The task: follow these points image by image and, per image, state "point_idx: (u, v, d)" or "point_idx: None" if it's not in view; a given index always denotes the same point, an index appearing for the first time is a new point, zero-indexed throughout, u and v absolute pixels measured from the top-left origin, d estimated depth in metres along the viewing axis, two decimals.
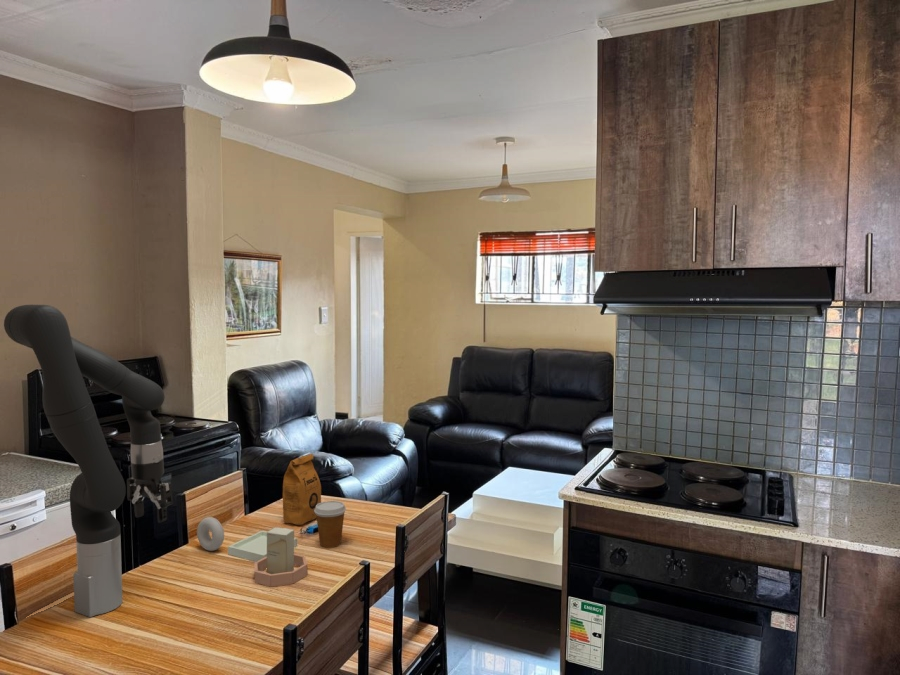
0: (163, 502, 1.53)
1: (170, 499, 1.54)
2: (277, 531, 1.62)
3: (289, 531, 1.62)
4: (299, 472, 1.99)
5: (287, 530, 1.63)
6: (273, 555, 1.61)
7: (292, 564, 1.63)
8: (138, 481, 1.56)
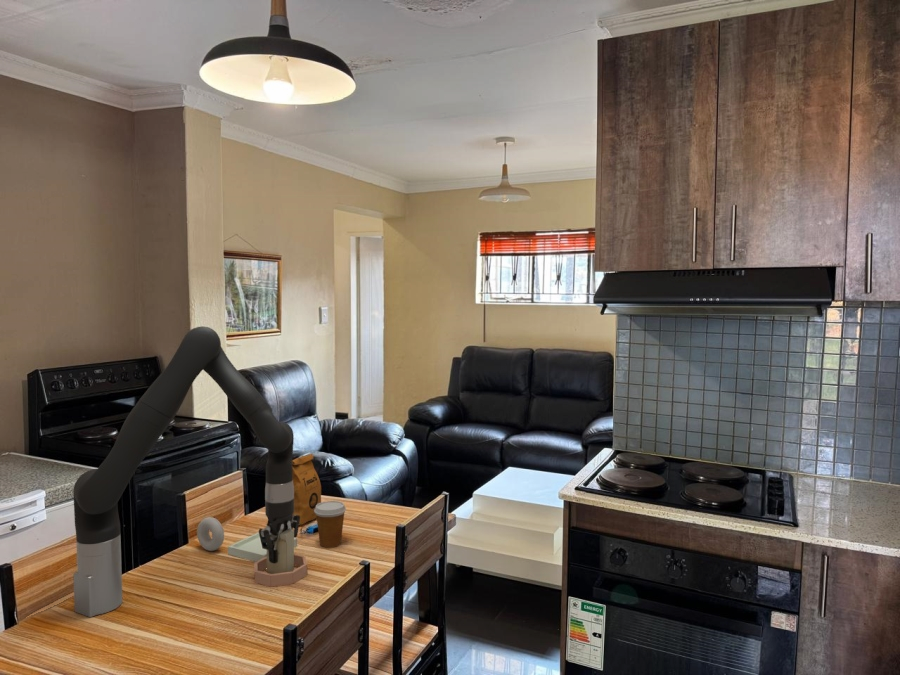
0: (296, 532, 1.67)
1: None
2: None
3: (289, 531, 1.62)
4: (299, 472, 1.99)
5: (287, 530, 1.63)
6: None
7: (292, 564, 1.63)
8: (276, 522, 1.60)
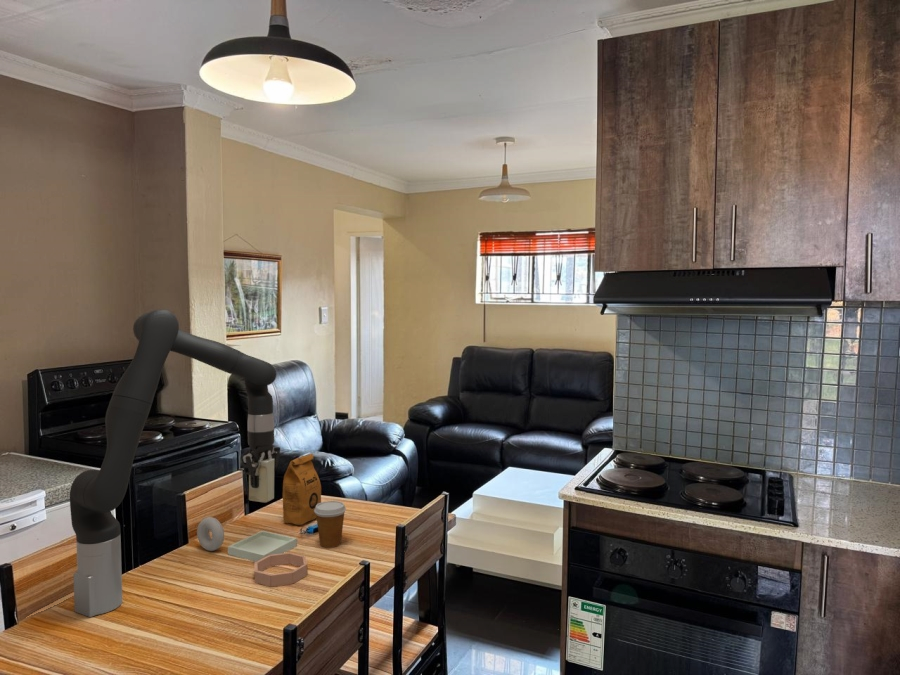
0: (276, 462, 1.82)
1: None
2: None
3: (269, 459, 1.77)
4: (299, 472, 1.99)
5: (268, 459, 1.78)
6: None
7: (272, 490, 1.78)
8: (257, 450, 1.75)
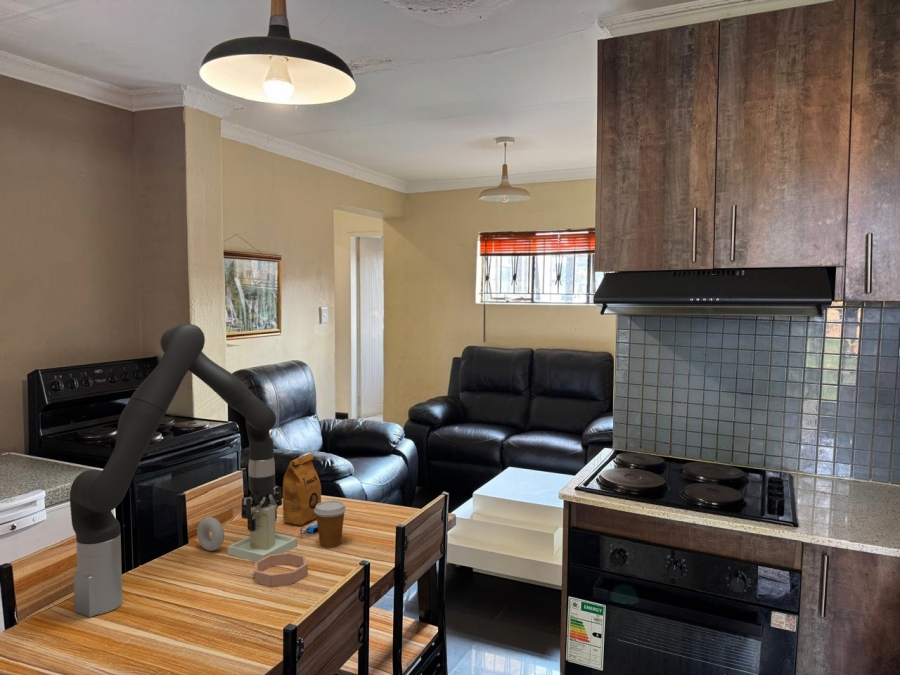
0: (280, 501, 1.84)
1: (276, 499, 1.85)
2: None
3: (270, 507, 1.78)
4: (299, 472, 1.99)
5: (269, 506, 1.79)
6: (256, 528, 1.77)
7: (273, 537, 1.79)
8: (258, 495, 1.76)
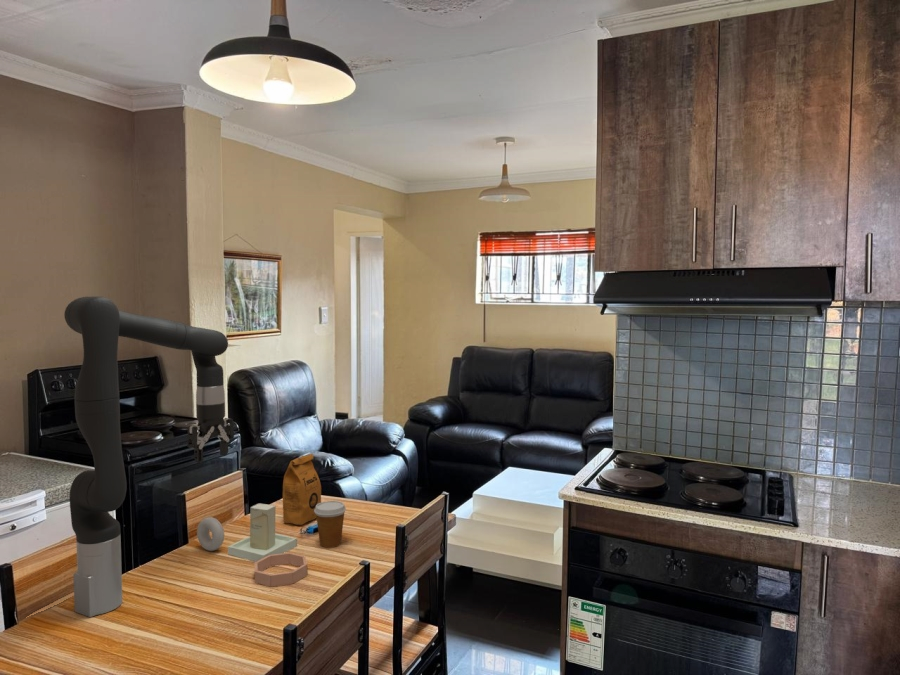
0: (232, 434, 1.74)
1: (228, 432, 1.75)
2: (259, 506, 1.78)
3: (270, 507, 1.78)
4: (299, 472, 1.99)
5: (269, 506, 1.79)
6: (256, 528, 1.77)
7: (273, 537, 1.79)
8: (206, 424, 1.66)
